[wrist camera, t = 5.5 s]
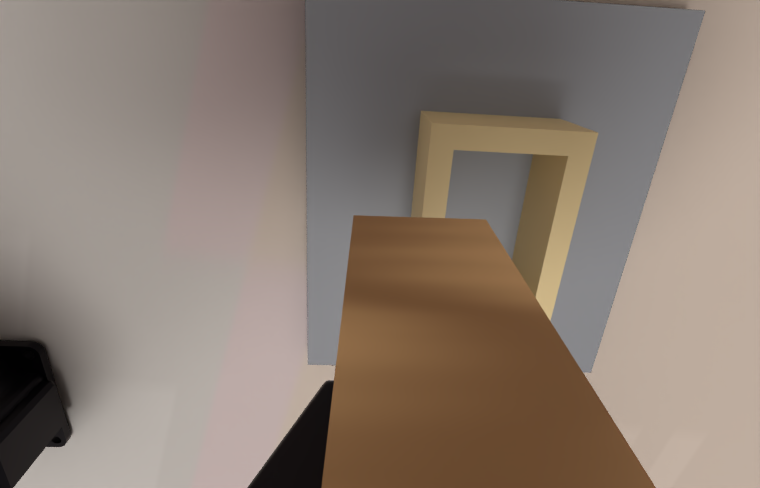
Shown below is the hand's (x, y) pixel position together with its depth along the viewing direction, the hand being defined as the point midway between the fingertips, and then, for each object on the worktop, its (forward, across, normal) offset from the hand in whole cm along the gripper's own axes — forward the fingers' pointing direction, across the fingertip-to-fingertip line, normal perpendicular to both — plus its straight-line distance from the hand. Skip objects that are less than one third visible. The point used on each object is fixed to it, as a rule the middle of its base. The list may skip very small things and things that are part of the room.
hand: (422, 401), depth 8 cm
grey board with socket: (+12, -3, +1) cm, 13 cm away
